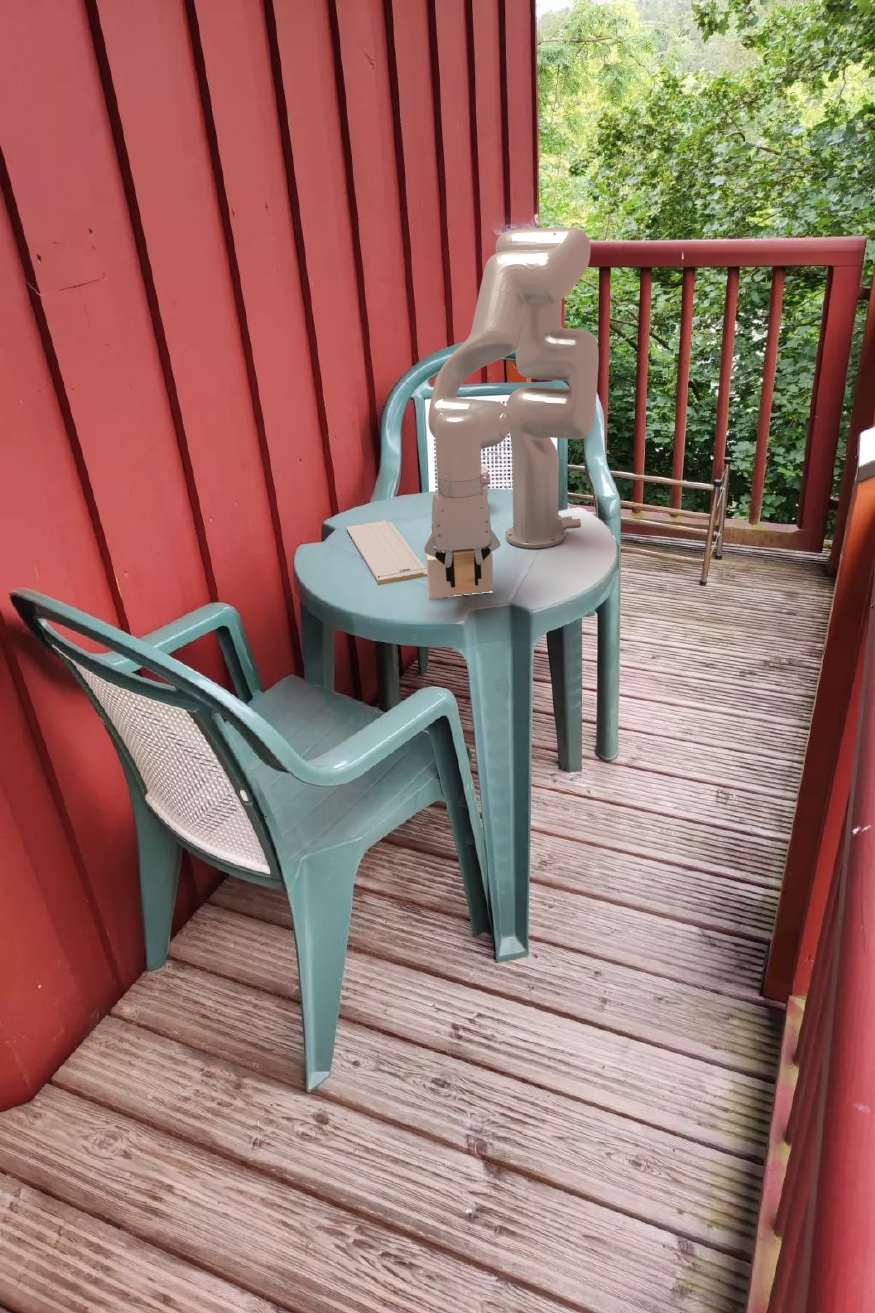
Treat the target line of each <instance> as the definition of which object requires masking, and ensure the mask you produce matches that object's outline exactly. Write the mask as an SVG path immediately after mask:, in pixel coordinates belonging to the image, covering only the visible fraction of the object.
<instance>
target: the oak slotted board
mask: <svg viewBox="0 0 875 1313" xmlns="http://www.w3.org/2000/svg"><path fill="white" fill-rule="evenodd" d="M452 562H453V565H454V573H455V587H454V590H455V593H456V594H467V593H475V571H474V550H473V549H470V550H458V551H453V555H452Z"/></svg>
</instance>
